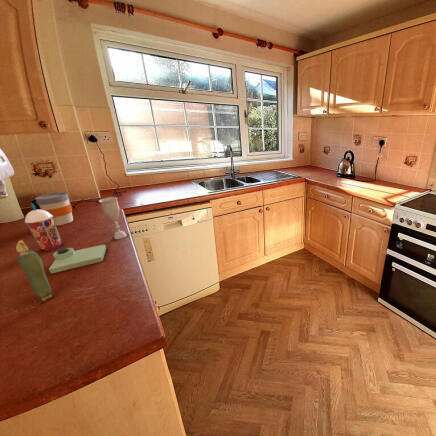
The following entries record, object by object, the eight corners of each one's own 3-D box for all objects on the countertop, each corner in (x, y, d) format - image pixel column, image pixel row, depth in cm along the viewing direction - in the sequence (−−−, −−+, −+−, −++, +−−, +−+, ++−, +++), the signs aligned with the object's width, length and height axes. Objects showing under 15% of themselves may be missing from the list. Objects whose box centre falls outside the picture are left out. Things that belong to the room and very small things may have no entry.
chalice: (110, 236, 113) (98, 199, 106) (127, 231, 117) (116, 196, 110) (112, 241, 108) (99, 203, 101) (130, 236, 112) (118, 199, 105)
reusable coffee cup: (78, 216, 140) (68, 190, 134) (76, 222, 130) (65, 195, 125) (49, 221, 133) (37, 195, 127) (45, 229, 124) (32, 201, 118)
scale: (49, 274, 86) (45, 265, 84) (59, 258, 96) (55, 250, 94) (102, 261, 93) (99, 253, 91) (106, 247, 103) (103, 240, 101)
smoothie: (69, 244, 106) (50, 201, 99) (45, 254, 99) (22, 208, 92) (59, 241, 109) (40, 199, 102) (35, 250, 103) (12, 205, 95)
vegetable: (37, 299, 73) (5, 240, 66) (55, 291, 76) (27, 234, 69) (41, 305, 71) (9, 244, 63) (60, 296, 74) (31, 238, 67)
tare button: (57, 255, 92) (55, 251, 91) (59, 252, 94) (58, 248, 93) (67, 253, 93) (66, 249, 92) (69, 249, 95) (68, 246, 95)
